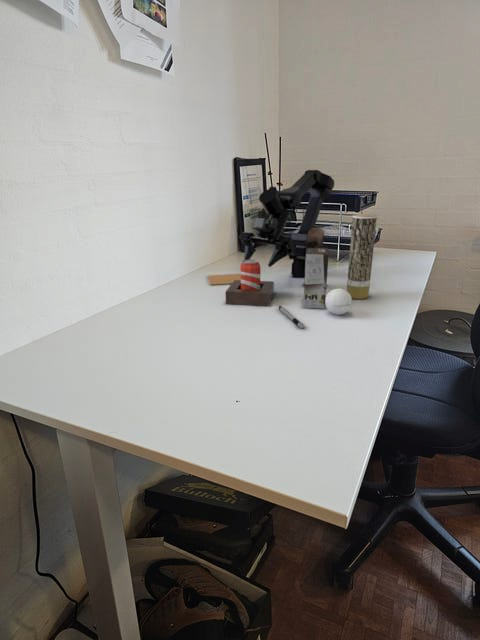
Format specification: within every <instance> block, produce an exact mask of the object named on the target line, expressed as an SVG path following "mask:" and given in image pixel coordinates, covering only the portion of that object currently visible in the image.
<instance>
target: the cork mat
mask: <svg viewBox="0 0 480 640" xmlns="http://www.w3.org/2000/svg"><path fill="white" fill-rule="evenodd" d="M208 280H209V283H210V286H224V285H231V284H232V283H233V282H234V280H241V273H231V274H229V273H228V274H214V275H208Z"/></svg>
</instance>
